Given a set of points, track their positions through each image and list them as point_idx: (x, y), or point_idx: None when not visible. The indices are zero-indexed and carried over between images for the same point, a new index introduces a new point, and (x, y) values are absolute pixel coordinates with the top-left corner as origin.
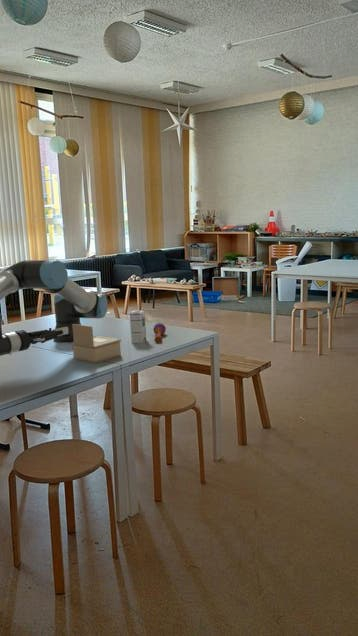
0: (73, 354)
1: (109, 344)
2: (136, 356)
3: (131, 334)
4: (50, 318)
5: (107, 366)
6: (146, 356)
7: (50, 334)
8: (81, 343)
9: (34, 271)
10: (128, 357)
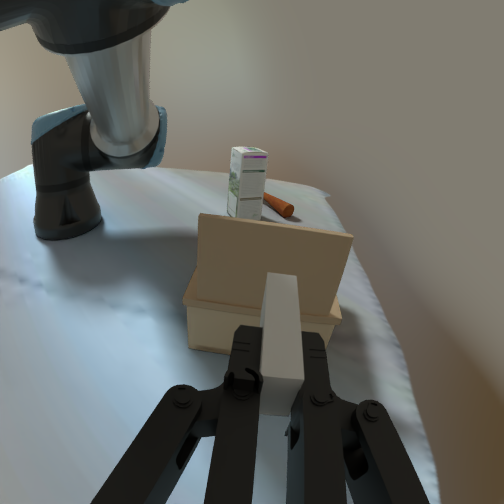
0: (188, 336)
1: None
2: (348, 283)
3: (238, 203)
4: (11, 178)
5: (382, 370)
6: (366, 277)
7: (421, 500)
8: (252, 304)
9: None
10: (341, 293)
